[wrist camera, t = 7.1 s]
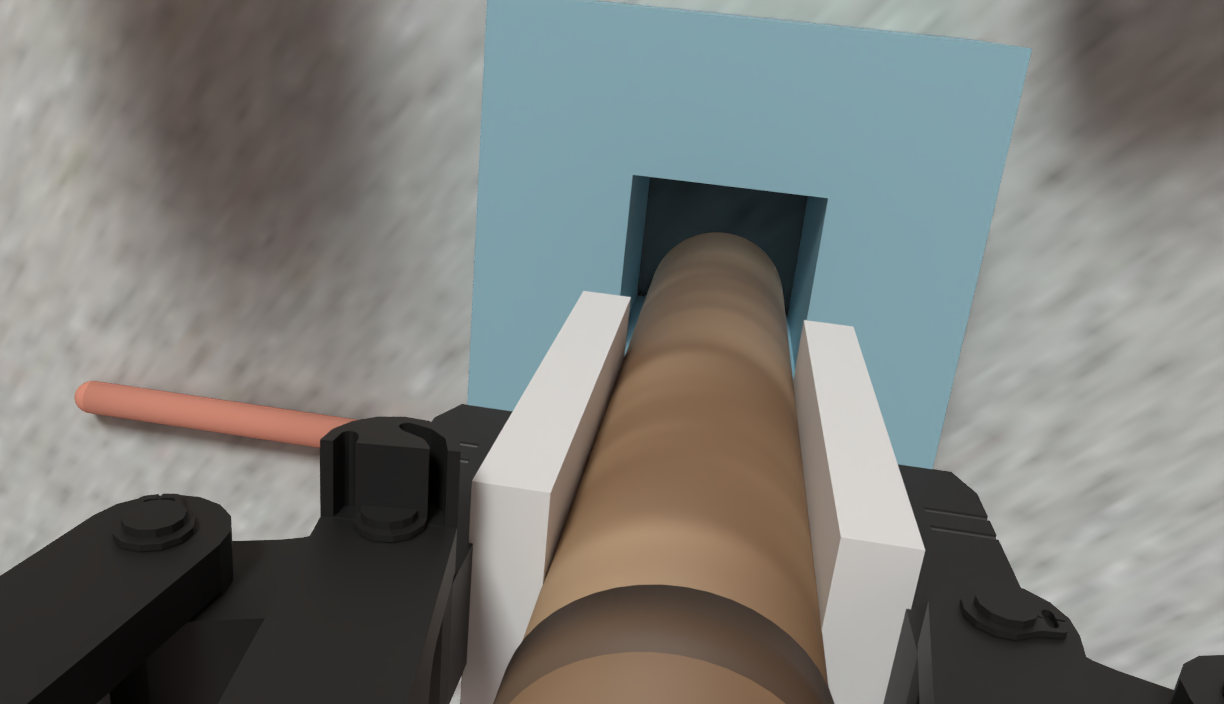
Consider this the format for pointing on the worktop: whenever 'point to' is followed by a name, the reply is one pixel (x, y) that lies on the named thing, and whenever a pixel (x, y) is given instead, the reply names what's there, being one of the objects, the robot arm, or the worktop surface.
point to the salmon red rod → (206, 413)
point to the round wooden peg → (687, 511)
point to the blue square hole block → (740, 177)
